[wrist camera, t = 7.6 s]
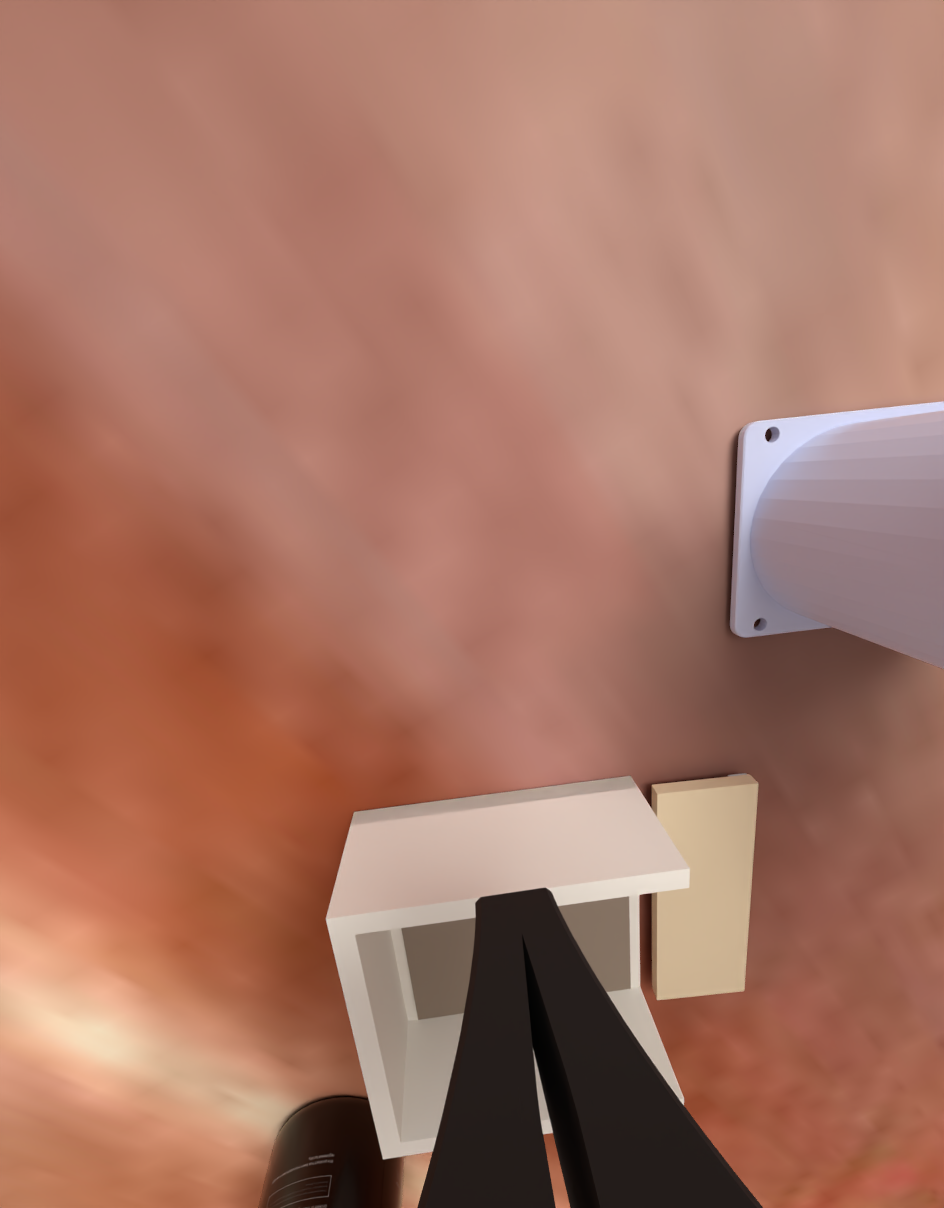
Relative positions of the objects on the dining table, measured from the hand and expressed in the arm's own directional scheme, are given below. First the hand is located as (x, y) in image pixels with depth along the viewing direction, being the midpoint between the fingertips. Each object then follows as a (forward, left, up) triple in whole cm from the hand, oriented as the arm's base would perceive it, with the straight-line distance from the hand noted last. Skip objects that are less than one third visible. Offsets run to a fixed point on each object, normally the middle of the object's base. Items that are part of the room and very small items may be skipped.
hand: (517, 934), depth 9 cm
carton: (0, +11, -10) cm, 15 cm away
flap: (-7, +11, -10) cm, 16 cm away
